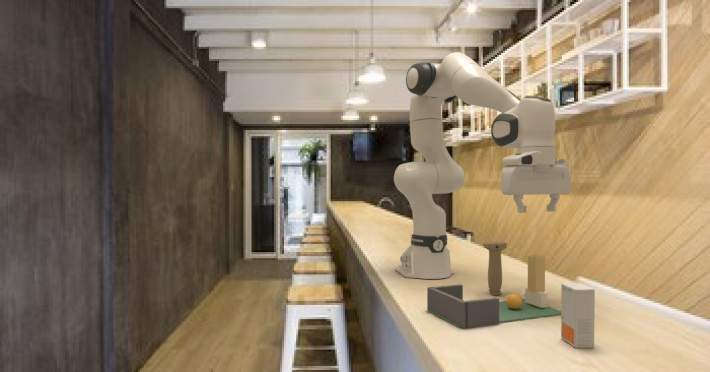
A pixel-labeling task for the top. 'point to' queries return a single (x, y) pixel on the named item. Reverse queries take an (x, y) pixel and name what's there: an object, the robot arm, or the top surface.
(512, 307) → the ball
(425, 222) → the robot arm
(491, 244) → the handle
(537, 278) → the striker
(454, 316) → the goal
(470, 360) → the top surface
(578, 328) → the skincare box
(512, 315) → the pitch
